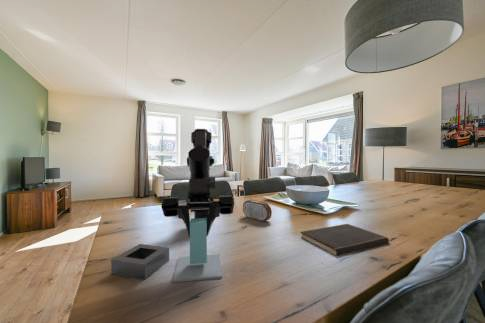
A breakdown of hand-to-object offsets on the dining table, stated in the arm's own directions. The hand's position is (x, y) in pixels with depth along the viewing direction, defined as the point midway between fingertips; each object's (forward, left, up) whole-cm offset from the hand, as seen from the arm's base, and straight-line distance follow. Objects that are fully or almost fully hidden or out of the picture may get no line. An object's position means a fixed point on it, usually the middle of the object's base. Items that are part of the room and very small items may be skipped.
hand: (198, 235), depth 52 cm
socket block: (-9, -11, -9) cm, 17 cm away
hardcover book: (+8, +48, -9) cm, 50 cm away
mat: (-1, +1, -9) cm, 9 cm away
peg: (-1, +1, -7) cm, 7 cm away
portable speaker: (-27, +38, -9) cm, 47 cm away
